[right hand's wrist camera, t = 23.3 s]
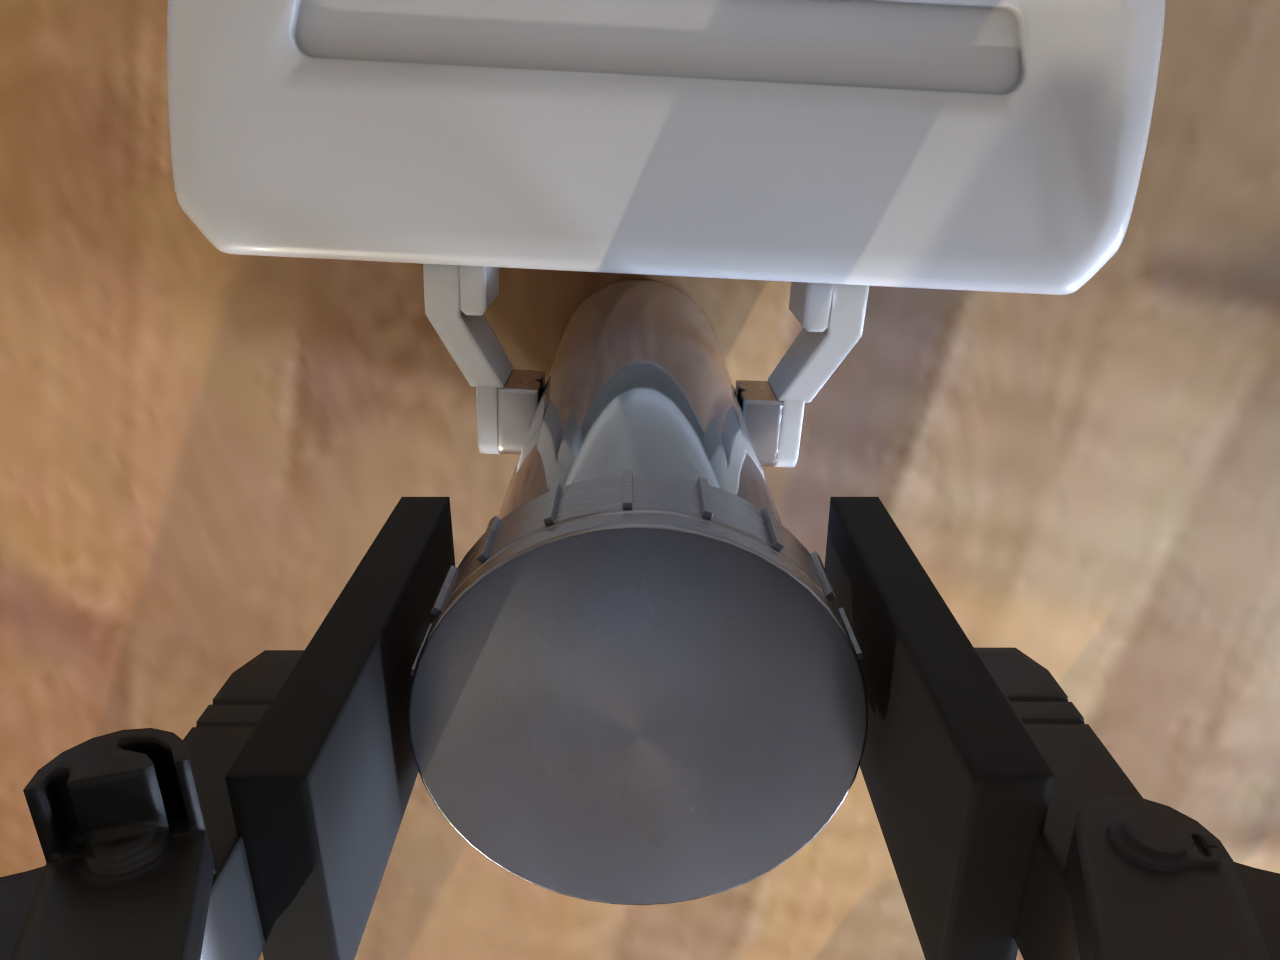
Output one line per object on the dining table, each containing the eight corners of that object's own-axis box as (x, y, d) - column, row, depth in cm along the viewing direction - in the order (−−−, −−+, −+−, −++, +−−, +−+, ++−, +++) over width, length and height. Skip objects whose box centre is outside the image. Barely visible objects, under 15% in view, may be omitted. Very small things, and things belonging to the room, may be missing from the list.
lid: (914, 718, 13) (951, 799, 11) (575, 876, 14) (566, 968, 12) (719, 386, 11) (732, 428, 9) (345, 598, 12) (303, 666, 10)
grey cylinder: (578, 262, 27) (481, 483, 10) (737, 300, 27) (882, 571, 11) (545, 415, 28) (420, 808, 12) (695, 449, 29) (766, 872, 13)
